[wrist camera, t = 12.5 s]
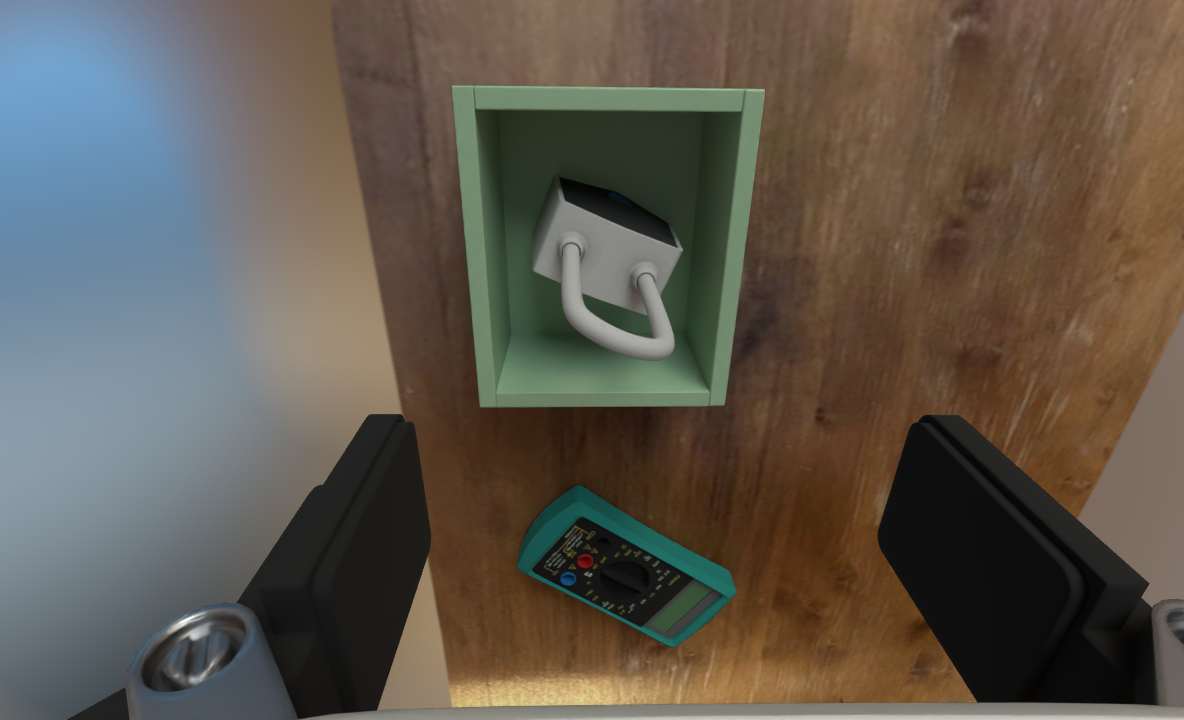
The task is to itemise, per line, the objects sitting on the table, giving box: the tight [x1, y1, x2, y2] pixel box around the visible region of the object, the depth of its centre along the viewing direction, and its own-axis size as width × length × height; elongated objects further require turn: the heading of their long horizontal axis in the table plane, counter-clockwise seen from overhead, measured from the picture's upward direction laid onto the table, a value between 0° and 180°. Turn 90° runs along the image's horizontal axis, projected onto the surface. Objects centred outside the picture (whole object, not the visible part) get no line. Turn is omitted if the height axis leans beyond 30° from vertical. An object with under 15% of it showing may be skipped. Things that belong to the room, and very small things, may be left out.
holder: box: [452, 86, 765, 407], centre depth 27 cm, size 12×14×8 cm
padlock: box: [532, 175, 683, 361], centre depth 23 cm, size 7×4×15 cm, turn 67°
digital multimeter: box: [517, 485, 736, 647], centre depth 40 cm, size 7×15×3 cm, turn 54°
